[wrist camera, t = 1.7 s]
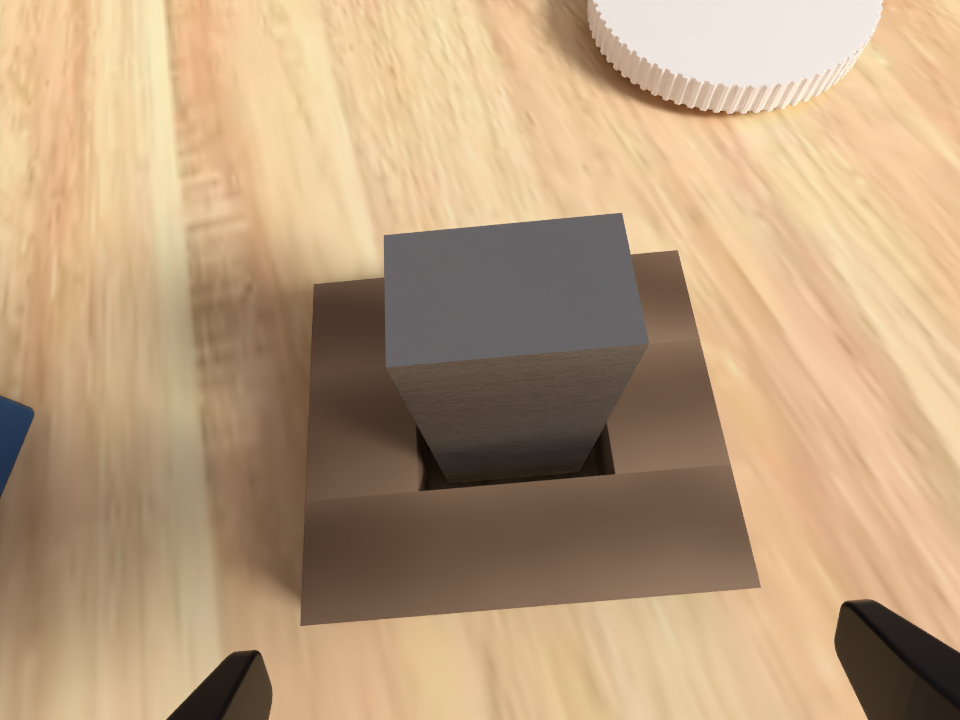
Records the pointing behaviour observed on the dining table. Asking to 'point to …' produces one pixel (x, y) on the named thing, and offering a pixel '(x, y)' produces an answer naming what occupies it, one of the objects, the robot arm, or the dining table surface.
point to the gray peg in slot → (512, 340)
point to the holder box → (514, 484)
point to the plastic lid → (733, 47)
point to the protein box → (12, 434)
